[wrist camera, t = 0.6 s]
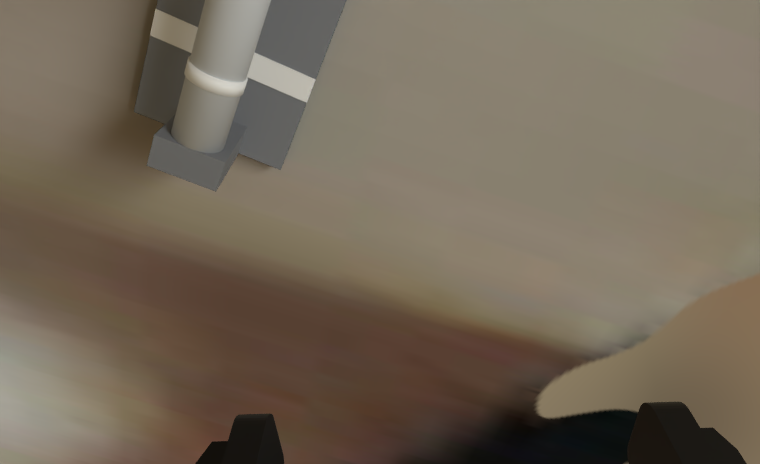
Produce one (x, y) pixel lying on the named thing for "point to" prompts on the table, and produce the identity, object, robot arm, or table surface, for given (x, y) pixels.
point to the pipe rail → (256, 103)
